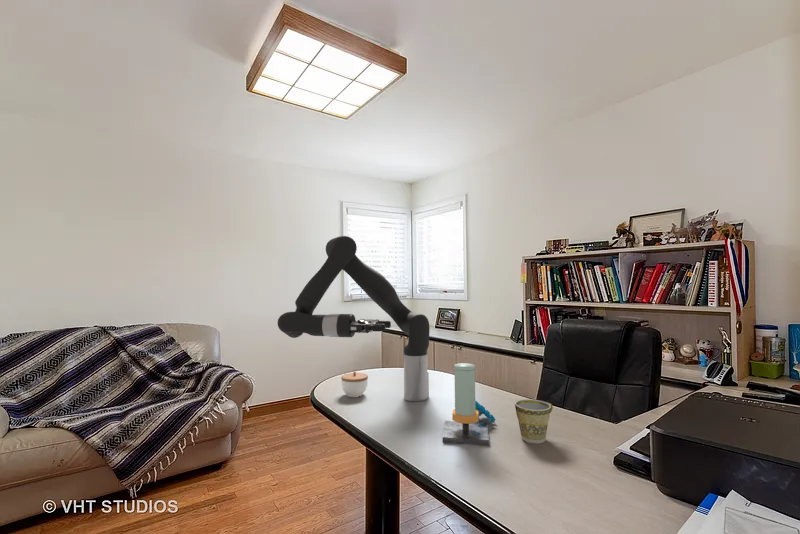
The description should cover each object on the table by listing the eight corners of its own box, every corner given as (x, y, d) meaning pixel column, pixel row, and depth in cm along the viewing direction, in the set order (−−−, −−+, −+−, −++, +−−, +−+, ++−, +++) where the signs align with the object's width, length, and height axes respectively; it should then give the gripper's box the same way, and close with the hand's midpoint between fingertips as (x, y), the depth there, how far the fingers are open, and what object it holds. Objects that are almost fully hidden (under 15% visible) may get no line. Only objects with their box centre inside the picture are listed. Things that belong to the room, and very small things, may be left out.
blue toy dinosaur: (501, 421, 124) (478, 399, 124) (490, 436, 122) (467, 414, 122) (487, 414, 134) (466, 394, 134) (476, 427, 133) (455, 407, 133)
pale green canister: (455, 408, 121) (454, 362, 121) (475, 409, 120) (474, 363, 120) (454, 415, 115) (454, 367, 115) (475, 416, 114) (474, 368, 114)
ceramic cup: (533, 449, 107) (533, 412, 107) (508, 436, 116) (507, 402, 116) (566, 439, 113) (565, 404, 113) (539, 428, 122) (539, 395, 122)
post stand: (445, 425, 125) (444, 368, 125) (486, 427, 122) (486, 370, 123) (442, 442, 112) (441, 379, 112) (489, 445, 110) (488, 380, 110)
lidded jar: (371, 391, 162) (371, 369, 163) (363, 399, 152) (363, 375, 152) (346, 390, 165) (346, 368, 165) (337, 398, 154) (337, 374, 154)
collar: (453, 413, 122) (453, 407, 122) (478, 415, 120) (478, 408, 120) (452, 422, 114) (452, 415, 114) (478, 424, 113) (478, 417, 113)
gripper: (331, 316, 120) (382, 316, 118) (345, 312, 134) (392, 312, 132) (331, 340, 120) (383, 341, 117) (346, 333, 134) (392, 334, 131)
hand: (387, 326), depth 124 cm, fingers open, 8 cm apart
